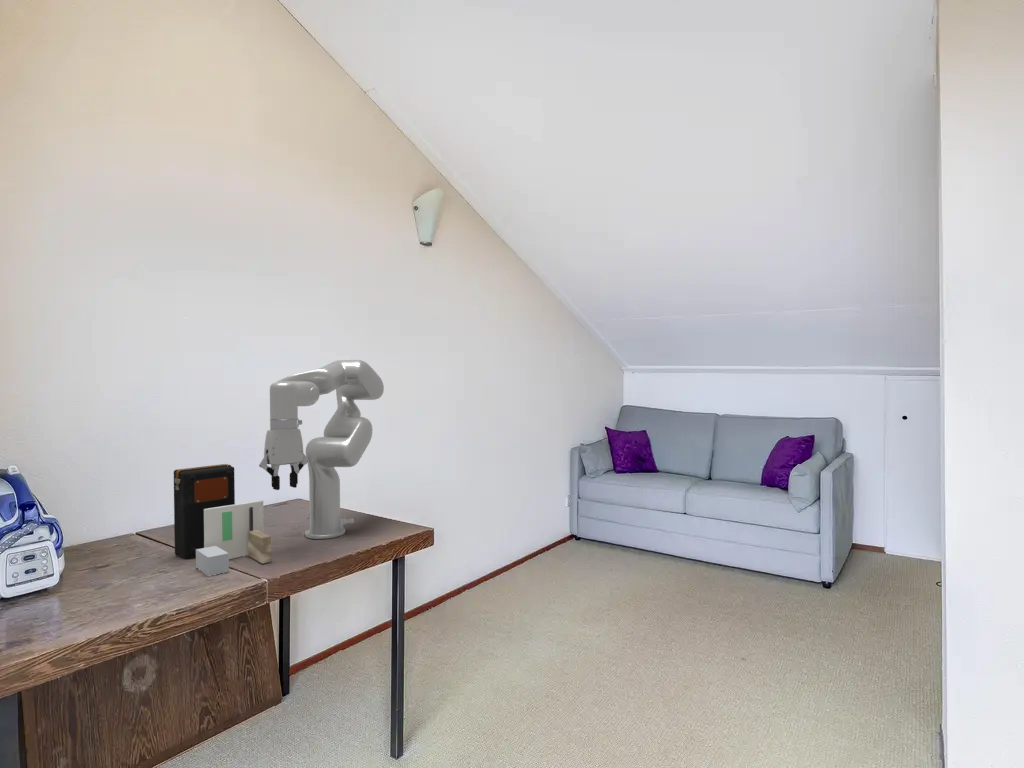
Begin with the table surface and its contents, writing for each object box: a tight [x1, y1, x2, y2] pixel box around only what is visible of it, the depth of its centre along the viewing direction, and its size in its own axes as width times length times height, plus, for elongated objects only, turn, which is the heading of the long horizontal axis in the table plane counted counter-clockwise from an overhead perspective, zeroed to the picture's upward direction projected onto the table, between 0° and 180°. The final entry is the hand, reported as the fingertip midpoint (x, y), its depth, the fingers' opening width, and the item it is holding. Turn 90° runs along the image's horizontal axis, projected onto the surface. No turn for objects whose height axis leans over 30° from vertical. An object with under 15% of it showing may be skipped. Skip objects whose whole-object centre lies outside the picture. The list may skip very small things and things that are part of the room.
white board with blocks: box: [195, 500, 265, 577], centre depth 166 cm, size 19×13×15 cm
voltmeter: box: [173, 463, 236, 559], centre depth 177 cm, size 16×9×25 cm, turn 141°
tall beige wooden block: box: [247, 507, 272, 565], centre depth 169 cm, size 2×11×14 cm, turn 44°
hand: (284, 487), depth 174 cm, fingers open, 4 cm apart
